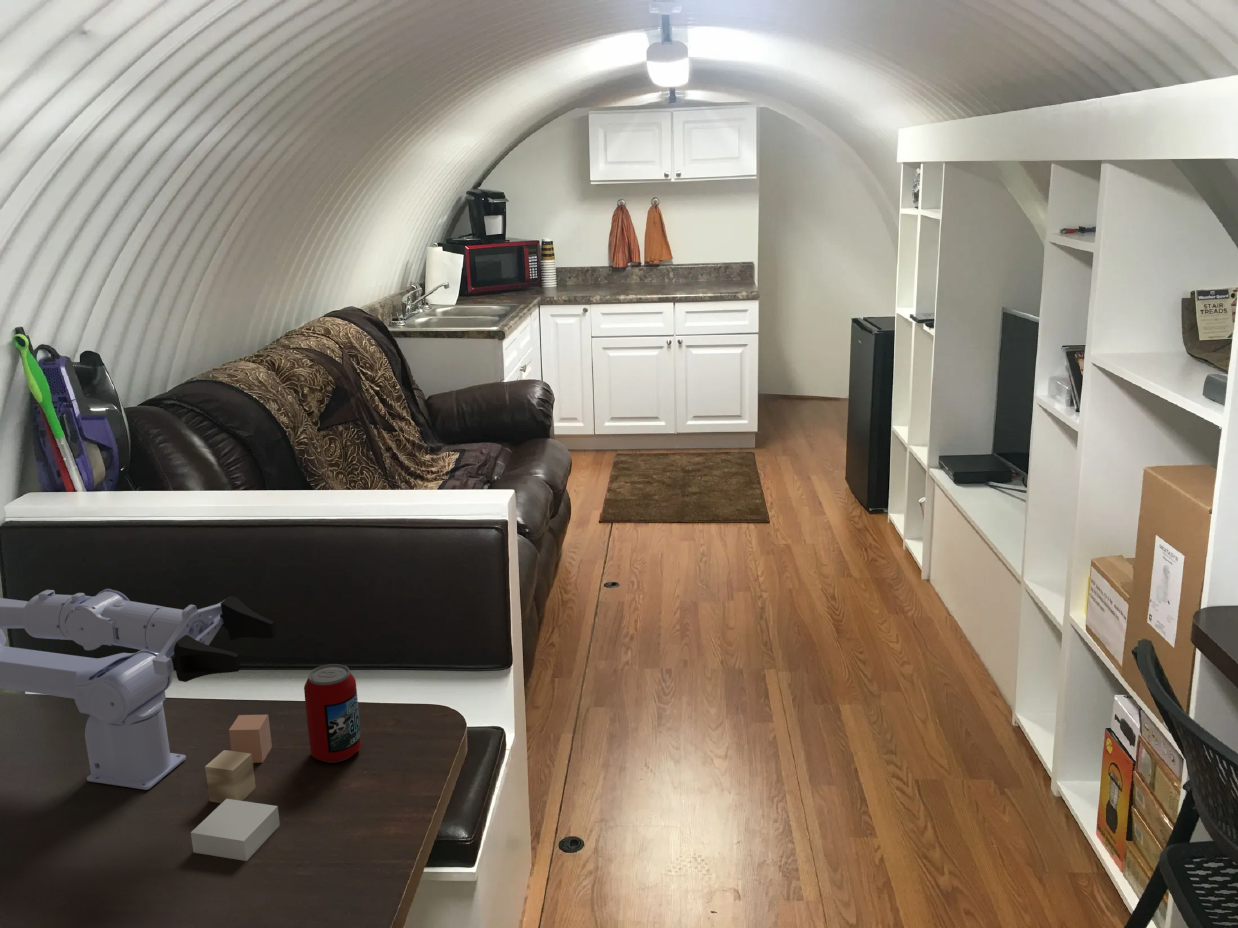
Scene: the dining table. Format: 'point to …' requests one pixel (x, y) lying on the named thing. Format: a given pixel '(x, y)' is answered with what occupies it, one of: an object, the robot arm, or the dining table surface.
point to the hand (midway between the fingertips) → (256, 645)
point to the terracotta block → (251, 736)
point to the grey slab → (235, 829)
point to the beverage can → (332, 713)
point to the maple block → (230, 776)
